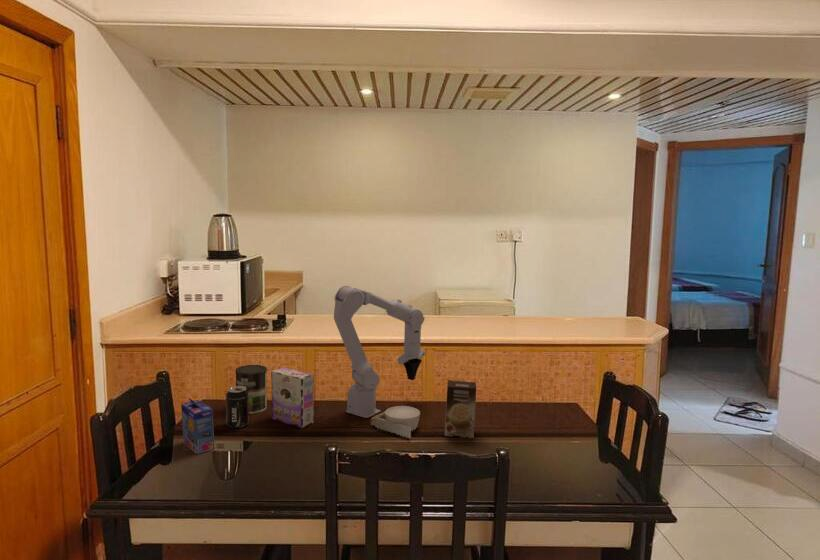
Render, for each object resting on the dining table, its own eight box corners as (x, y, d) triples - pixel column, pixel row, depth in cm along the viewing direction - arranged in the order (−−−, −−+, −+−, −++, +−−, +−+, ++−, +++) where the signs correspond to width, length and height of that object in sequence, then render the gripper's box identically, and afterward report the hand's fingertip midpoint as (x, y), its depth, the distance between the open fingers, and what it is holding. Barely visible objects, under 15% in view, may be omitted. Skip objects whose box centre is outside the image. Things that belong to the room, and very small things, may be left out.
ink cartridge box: (181, 443, 154) (180, 395, 152) (200, 438, 158) (199, 391, 156) (195, 455, 147) (194, 405, 145) (214, 449, 151) (213, 400, 149)
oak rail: (370, 425, 170) (370, 418, 170) (395, 413, 181) (395, 406, 181) (374, 426, 169) (374, 419, 169) (398, 414, 180) (399, 407, 180)
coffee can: (259, 415, 176) (258, 374, 174) (230, 412, 178) (229, 372, 176) (272, 404, 186) (271, 365, 184) (244, 402, 188) (244, 363, 186)
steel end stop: (375, 428, 168) (375, 417, 167) (376, 427, 168) (377, 417, 168) (409, 439, 161) (409, 428, 160) (410, 438, 161) (410, 427, 161)
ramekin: (379, 423, 172) (379, 407, 172) (410, 418, 177) (411, 403, 176) (392, 437, 162) (392, 420, 161) (425, 431, 167) (425, 415, 166)
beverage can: (240, 431, 163) (239, 393, 162) (221, 427, 165) (220, 390, 164) (253, 422, 170) (252, 386, 168) (235, 419, 172) (234, 384, 170)
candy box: (314, 423, 171) (314, 373, 169) (301, 429, 166) (301, 378, 164) (284, 413, 178) (283, 366, 176) (270, 419, 173) (270, 370, 171)
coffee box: (444, 436, 163) (446, 386, 161) (445, 428, 170) (446, 379, 167) (474, 438, 162) (476, 388, 160) (473, 430, 169) (475, 381, 167)
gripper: (410, 347, 178) (409, 386, 180) (432, 339, 190) (431, 376, 192) (393, 344, 182) (392, 382, 184) (416, 336, 194) (415, 372, 196)
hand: (411, 379), depth 188 cm, fingers closed
